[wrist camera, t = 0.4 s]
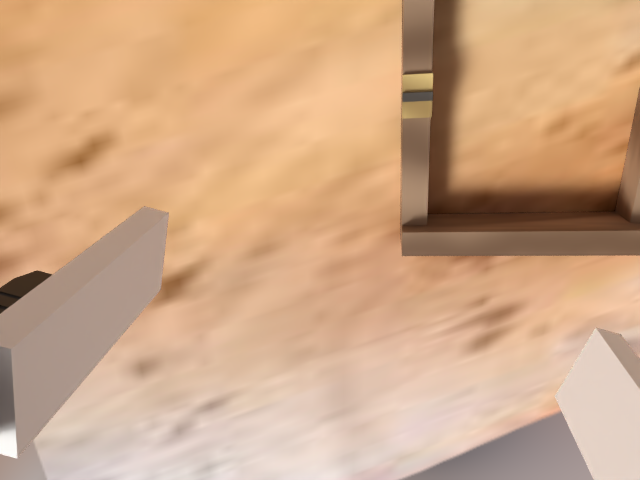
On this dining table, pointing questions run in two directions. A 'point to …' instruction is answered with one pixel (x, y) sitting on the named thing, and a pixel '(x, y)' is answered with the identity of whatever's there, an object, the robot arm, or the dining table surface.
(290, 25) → the dining table surface
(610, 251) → the frame
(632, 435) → the robot arm
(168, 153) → the dining table surface
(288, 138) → the dining table surface
